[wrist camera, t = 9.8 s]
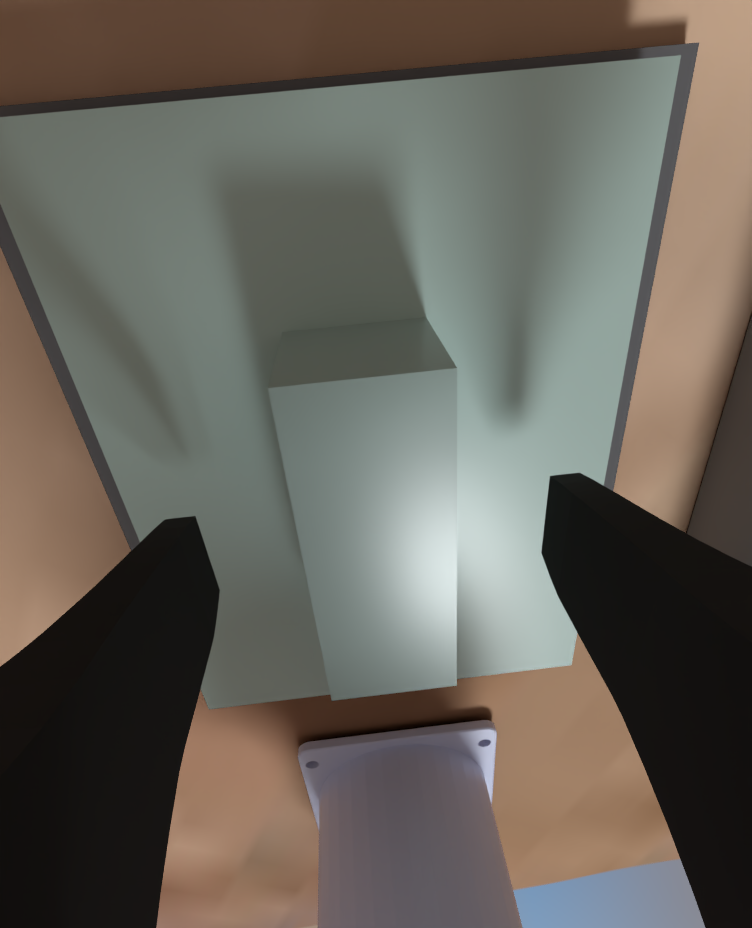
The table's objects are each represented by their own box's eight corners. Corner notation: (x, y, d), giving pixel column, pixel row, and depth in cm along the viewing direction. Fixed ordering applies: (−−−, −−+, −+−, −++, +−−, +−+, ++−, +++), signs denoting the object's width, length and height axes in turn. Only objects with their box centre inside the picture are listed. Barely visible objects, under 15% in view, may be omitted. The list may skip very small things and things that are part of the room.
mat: (581, 618, 18) (586, 627, 18) (187, 666, 18) (185, 675, 18) (686, 46, 10) (699, 42, 10) (-44, 113, 10) (-58, 111, 9)
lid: (557, 636, 18) (614, 755, 14) (216, 677, 18) (187, 809, 14) (644, 65, 10) (827, 13, 6) (5, 124, 9) (-195, 103, 6)
